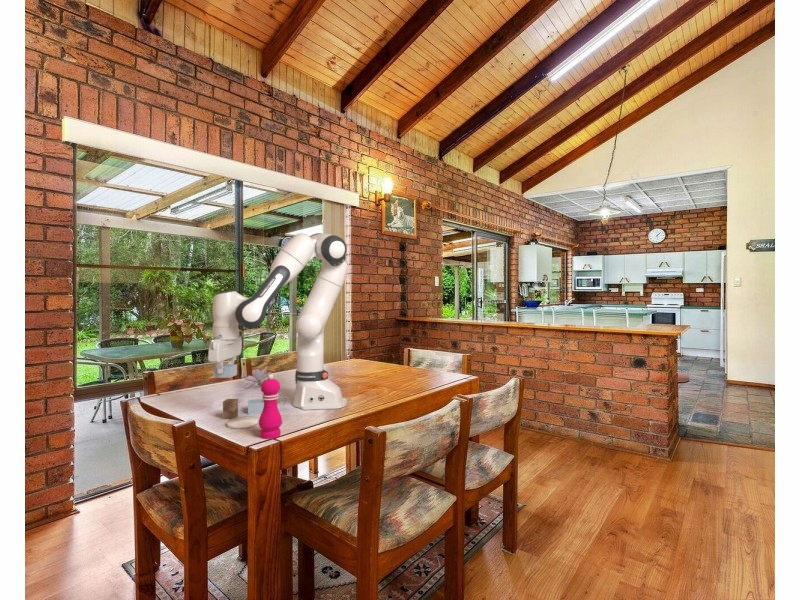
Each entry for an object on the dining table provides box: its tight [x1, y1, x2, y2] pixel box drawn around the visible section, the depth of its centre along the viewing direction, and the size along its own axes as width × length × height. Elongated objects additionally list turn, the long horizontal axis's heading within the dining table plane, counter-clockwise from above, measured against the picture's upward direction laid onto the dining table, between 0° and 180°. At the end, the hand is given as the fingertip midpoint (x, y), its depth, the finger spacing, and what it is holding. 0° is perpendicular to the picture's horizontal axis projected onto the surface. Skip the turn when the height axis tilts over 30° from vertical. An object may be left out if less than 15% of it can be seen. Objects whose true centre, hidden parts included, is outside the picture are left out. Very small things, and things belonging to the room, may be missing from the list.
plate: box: [226, 415, 259, 430], centre depth 144 cm, size 10×10×1 cm
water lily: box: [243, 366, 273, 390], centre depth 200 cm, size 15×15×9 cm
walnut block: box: [222, 398, 239, 420], centre depth 152 cm, size 4×4×6 cm
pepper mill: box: [258, 373, 283, 440], centre depth 132 cm, size 7×7×20 cm
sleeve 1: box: [212, 363, 238, 379], centre depth 153 cm, size 6×6×4 cm
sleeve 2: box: [247, 398, 264, 415], centre depth 160 cm, size 6×6×4 cm
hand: (225, 371), depth 153 cm, fingers closed on sleeve 1, 6 cm apart
